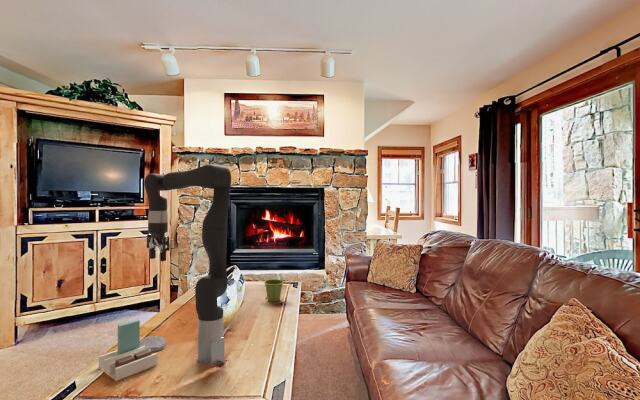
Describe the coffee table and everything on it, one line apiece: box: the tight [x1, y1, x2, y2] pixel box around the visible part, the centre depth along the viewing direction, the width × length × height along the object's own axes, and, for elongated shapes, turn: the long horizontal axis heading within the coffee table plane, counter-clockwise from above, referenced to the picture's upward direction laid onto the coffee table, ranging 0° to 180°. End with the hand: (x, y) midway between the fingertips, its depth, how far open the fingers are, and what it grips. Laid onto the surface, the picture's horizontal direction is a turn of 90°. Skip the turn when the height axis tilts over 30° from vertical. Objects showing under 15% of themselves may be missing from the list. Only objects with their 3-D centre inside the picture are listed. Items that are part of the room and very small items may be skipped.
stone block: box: [140, 335, 167, 353], centre depth 140 cm, size 12×5×10 cm
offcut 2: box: [134, 349, 153, 361], centre depth 123 cm, size 3×5×5 cm, turn 143°
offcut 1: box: [115, 355, 135, 368], centre depth 119 cm, size 3×5×5 cm, turn 143°
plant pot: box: [263, 278, 285, 302], centre depth 207 cm, size 12×12×11 cm
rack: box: [98, 346, 158, 382], centre depth 124 cm, size 14×14×6 cm
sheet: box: [117, 319, 141, 355], centre depth 128 cm, size 2×7×14 cm, turn 144°
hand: (157, 259), depth 144 cm, fingers open, 8 cm apart
